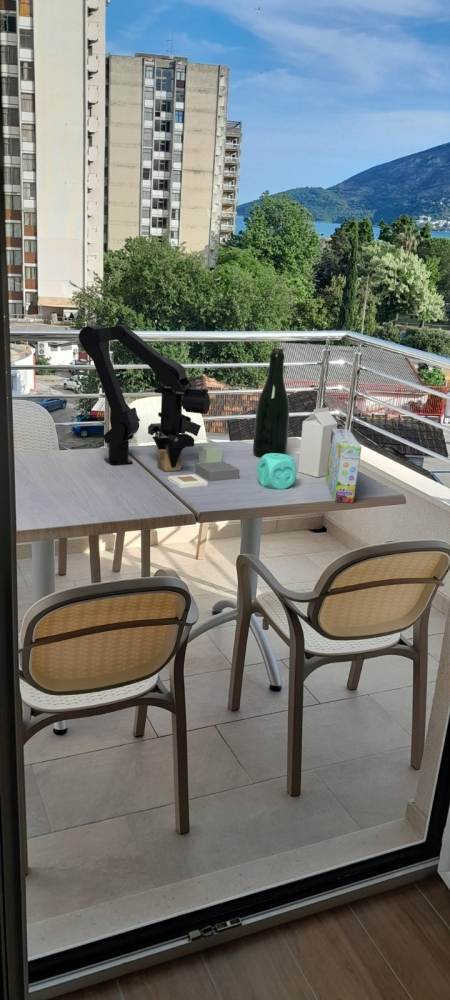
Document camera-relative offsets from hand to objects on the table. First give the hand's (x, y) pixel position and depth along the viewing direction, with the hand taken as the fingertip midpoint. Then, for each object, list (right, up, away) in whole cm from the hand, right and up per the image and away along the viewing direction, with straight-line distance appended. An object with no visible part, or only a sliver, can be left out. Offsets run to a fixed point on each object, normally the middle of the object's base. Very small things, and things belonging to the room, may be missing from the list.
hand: (169, 464), depth 211 cm
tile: (+6, -5, -12) cm, 14 cm away
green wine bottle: (+30, +4, +23) cm, 38 cm away
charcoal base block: (+13, -4, -3) cm, 14 cm away
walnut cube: (0, -1, 0) cm, 1 cm away
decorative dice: (+29, -6, -9) cm, 31 cm away
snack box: (+46, -8, -10) cm, 48 cm away
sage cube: (+11, +1, +9) cm, 14 cm away
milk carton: (+42, -2, +6) cm, 42 cm away
